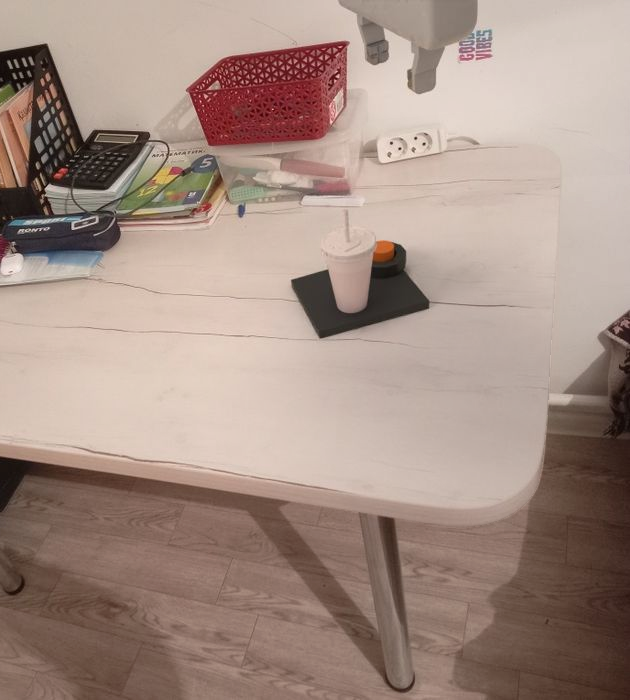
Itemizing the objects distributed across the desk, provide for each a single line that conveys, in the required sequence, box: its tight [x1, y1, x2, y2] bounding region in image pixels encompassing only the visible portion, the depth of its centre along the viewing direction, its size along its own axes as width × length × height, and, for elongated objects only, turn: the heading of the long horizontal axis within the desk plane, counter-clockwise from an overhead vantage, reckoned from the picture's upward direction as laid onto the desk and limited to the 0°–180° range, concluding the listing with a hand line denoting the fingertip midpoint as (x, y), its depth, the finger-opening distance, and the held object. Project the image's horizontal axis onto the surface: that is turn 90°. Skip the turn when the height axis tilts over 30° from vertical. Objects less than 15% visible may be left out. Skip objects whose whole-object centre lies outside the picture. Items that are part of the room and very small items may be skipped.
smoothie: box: [320, 208, 377, 313], centre depth 75 cm, size 6×6×14 cm
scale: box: [290, 241, 430, 339], centre depth 81 cm, size 15×12×3 cm
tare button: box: [373, 239, 394, 262], centre depth 82 cm, size 3×3×2 cm
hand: (397, 75), depth 56 cm, fingers open, 8 cm apart
